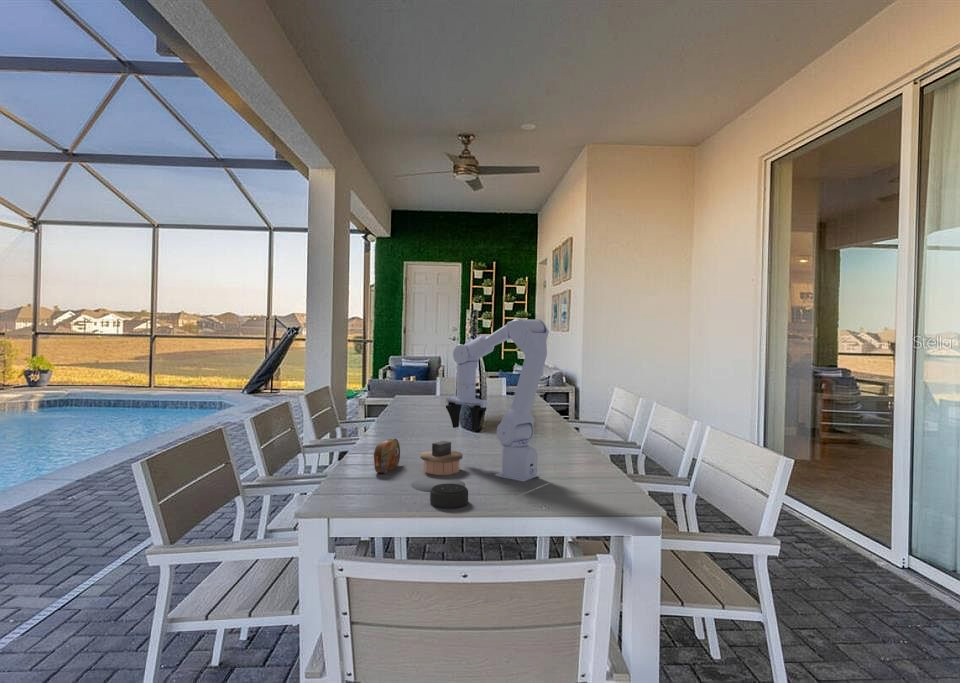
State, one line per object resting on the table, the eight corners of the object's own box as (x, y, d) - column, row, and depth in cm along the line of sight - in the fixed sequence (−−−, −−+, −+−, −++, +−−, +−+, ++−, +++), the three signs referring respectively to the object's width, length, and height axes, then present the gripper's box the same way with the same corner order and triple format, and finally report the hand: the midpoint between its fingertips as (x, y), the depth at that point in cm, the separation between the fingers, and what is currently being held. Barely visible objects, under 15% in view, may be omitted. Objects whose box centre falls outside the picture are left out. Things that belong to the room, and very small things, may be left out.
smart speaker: (427, 500, 137) (427, 483, 136) (464, 498, 139) (464, 481, 138) (432, 512, 128) (433, 494, 128) (471, 509, 130) (471, 492, 130)
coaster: (475, 484, 150) (475, 483, 150) (441, 496, 139) (441, 495, 139) (435, 475, 158) (435, 474, 158) (399, 486, 147) (399, 485, 147)
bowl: (466, 470, 164) (466, 456, 164) (443, 477, 156) (444, 463, 156) (439, 465, 170) (440, 451, 170) (417, 471, 162) (417, 457, 162)
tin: (382, 477, 156) (382, 446, 156) (371, 476, 157) (372, 445, 157) (400, 464, 171) (401, 436, 171) (391, 463, 172) (391, 435, 171)
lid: (470, 456, 164) (471, 442, 164) (443, 464, 155) (444, 449, 155) (439, 450, 172) (439, 436, 171) (411, 457, 162) (411, 443, 162)
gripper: (439, 383, 174) (438, 427, 174) (477, 387, 165) (476, 433, 166) (454, 381, 180) (453, 424, 180) (491, 385, 171) (490, 430, 172)
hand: (465, 428), depth 173 cm, fingers open, 7 cm apart
